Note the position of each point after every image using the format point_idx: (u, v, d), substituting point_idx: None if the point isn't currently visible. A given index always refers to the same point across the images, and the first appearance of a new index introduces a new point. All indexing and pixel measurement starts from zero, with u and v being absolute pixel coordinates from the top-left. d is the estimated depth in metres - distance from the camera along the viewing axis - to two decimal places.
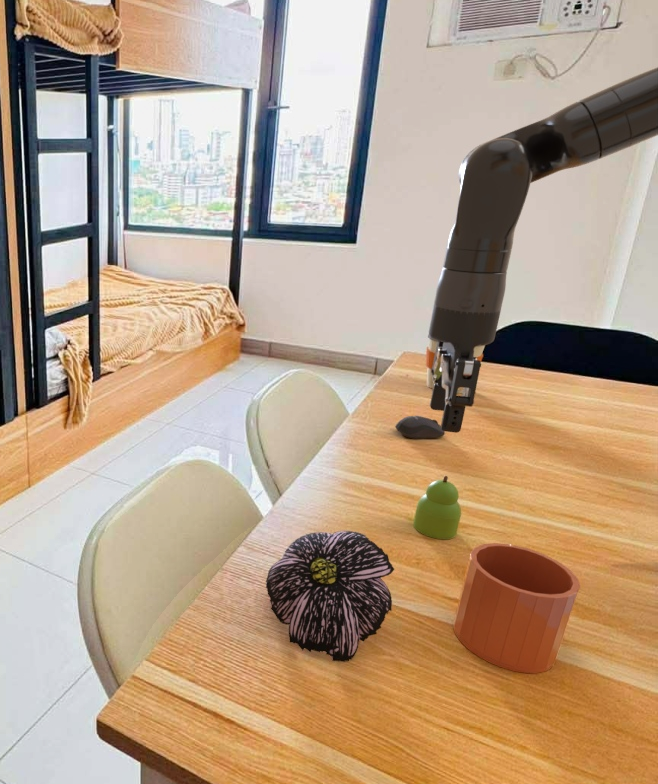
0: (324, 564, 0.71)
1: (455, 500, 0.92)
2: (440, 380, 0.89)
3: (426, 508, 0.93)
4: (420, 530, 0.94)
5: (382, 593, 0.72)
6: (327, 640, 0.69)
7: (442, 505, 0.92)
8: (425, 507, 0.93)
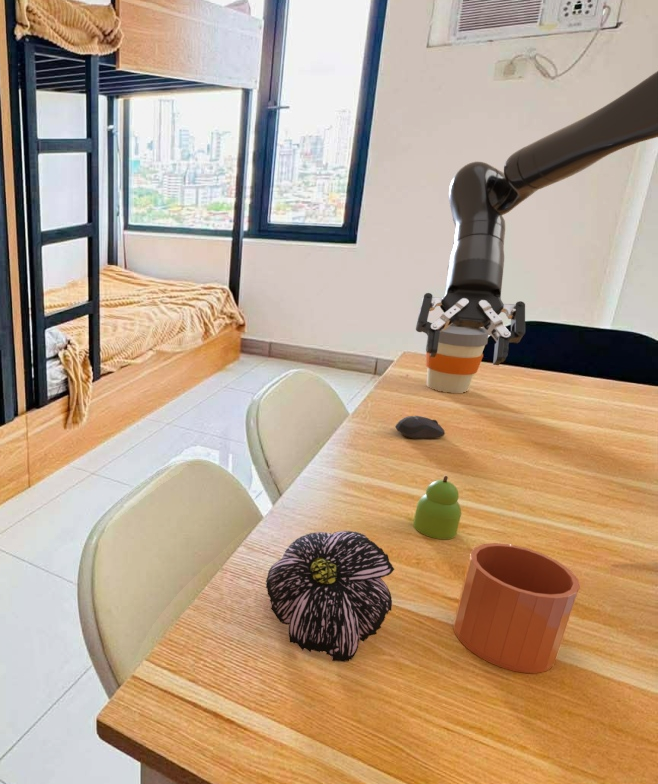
0: (324, 564, 0.71)
1: (455, 500, 0.92)
2: (497, 338, 0.96)
3: (426, 508, 0.93)
4: (420, 530, 0.94)
5: (382, 593, 0.72)
6: (327, 640, 0.69)
7: (442, 505, 0.92)
8: (425, 507, 0.93)
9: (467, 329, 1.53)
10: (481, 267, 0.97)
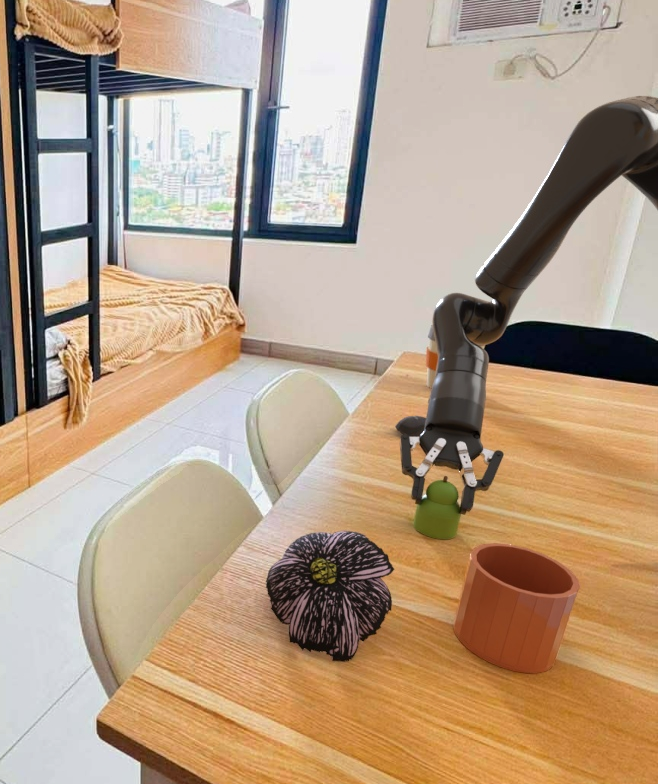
0: (324, 564, 0.71)
1: (455, 500, 0.92)
2: (465, 484, 0.93)
3: (426, 508, 0.93)
4: (420, 530, 0.94)
5: (382, 593, 0.72)
6: (327, 641, 0.69)
7: (442, 505, 0.92)
8: (425, 507, 0.93)
9: None
10: (459, 407, 0.94)
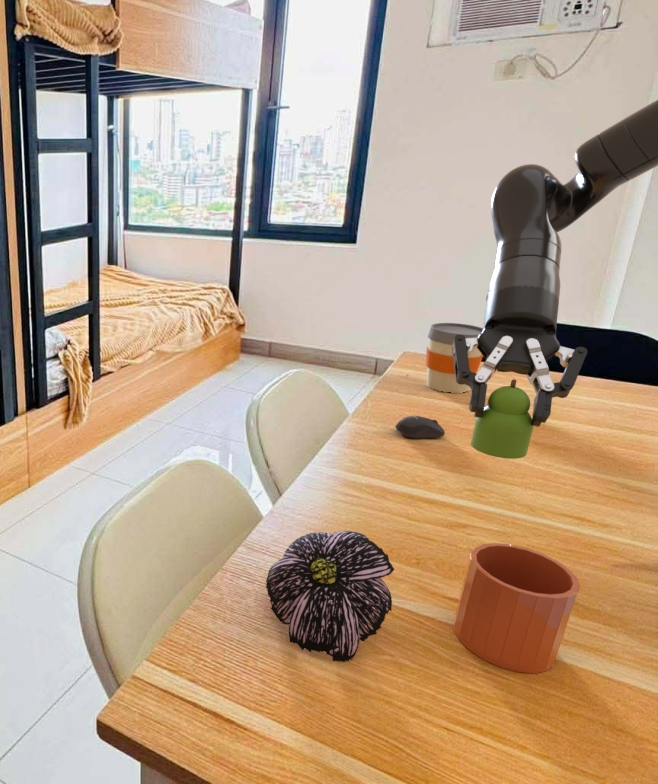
0: (324, 564, 0.71)
1: (526, 408, 0.74)
2: (538, 390, 0.75)
3: (489, 420, 0.75)
4: (481, 449, 0.76)
5: (382, 593, 0.72)
6: (327, 640, 0.69)
7: (510, 415, 0.74)
8: (488, 419, 0.75)
9: (467, 329, 1.53)
10: (529, 297, 0.76)
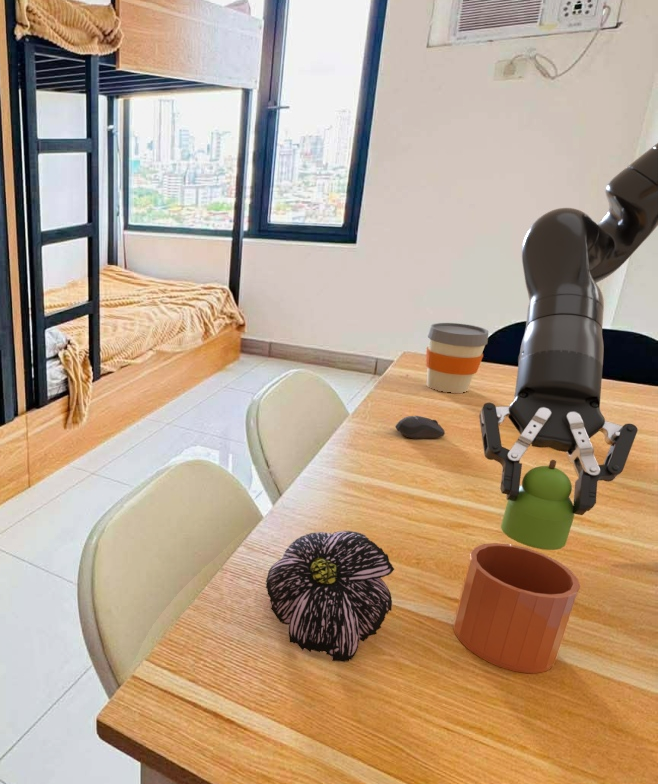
0: (324, 564, 0.71)
1: (568, 494, 0.64)
2: (580, 472, 0.66)
3: (524, 505, 0.66)
4: (514, 537, 0.67)
5: (382, 593, 0.72)
6: (327, 640, 0.69)
7: (549, 501, 0.65)
8: (522, 504, 0.66)
9: (467, 329, 1.53)
10: (570, 364, 0.67)
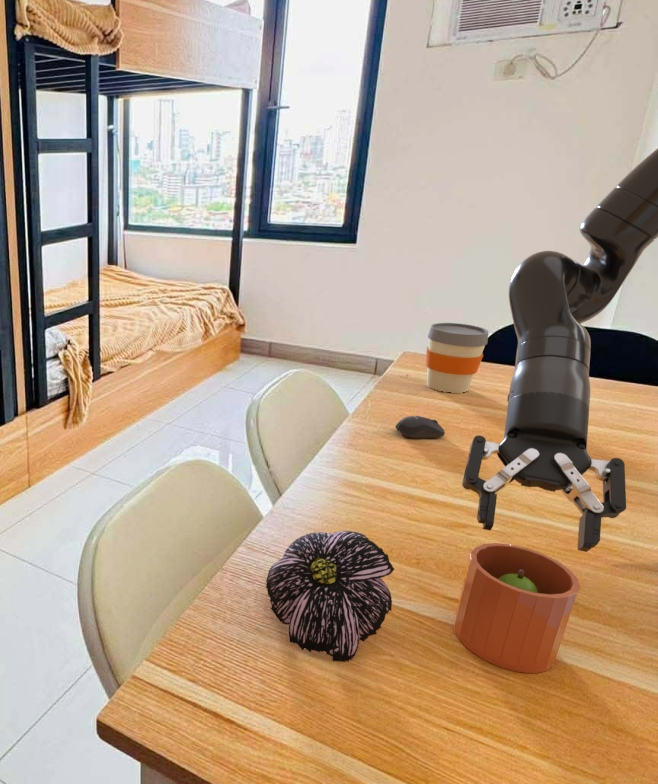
0: (324, 564, 0.71)
1: None
2: (583, 510, 0.67)
3: None
4: None
5: (382, 593, 0.72)
6: (327, 640, 0.69)
7: None
8: None
9: (467, 329, 1.53)
10: (557, 406, 0.69)
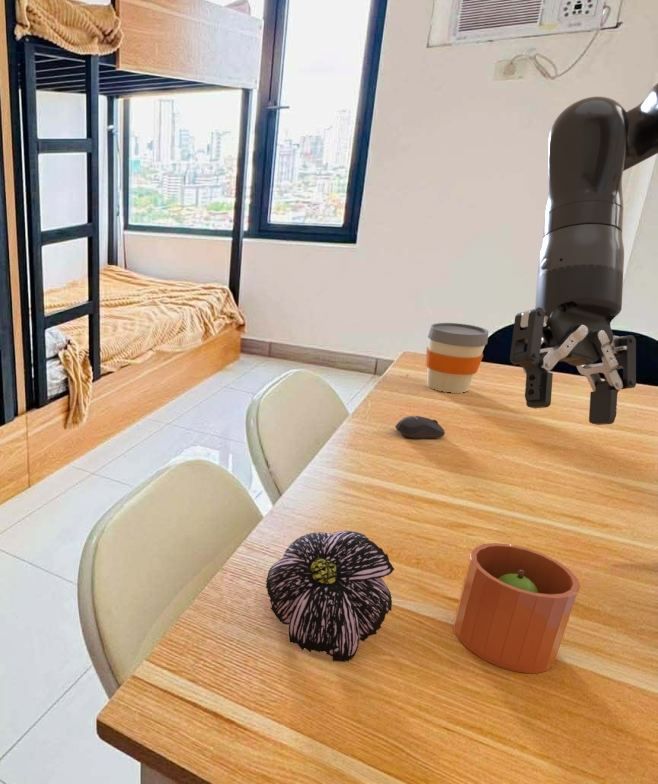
0: (324, 564, 0.71)
1: None
2: (598, 385, 0.70)
3: None
4: None
5: (382, 593, 0.72)
6: (327, 640, 0.69)
7: None
8: None
9: (467, 329, 1.53)
10: (614, 282, 0.66)
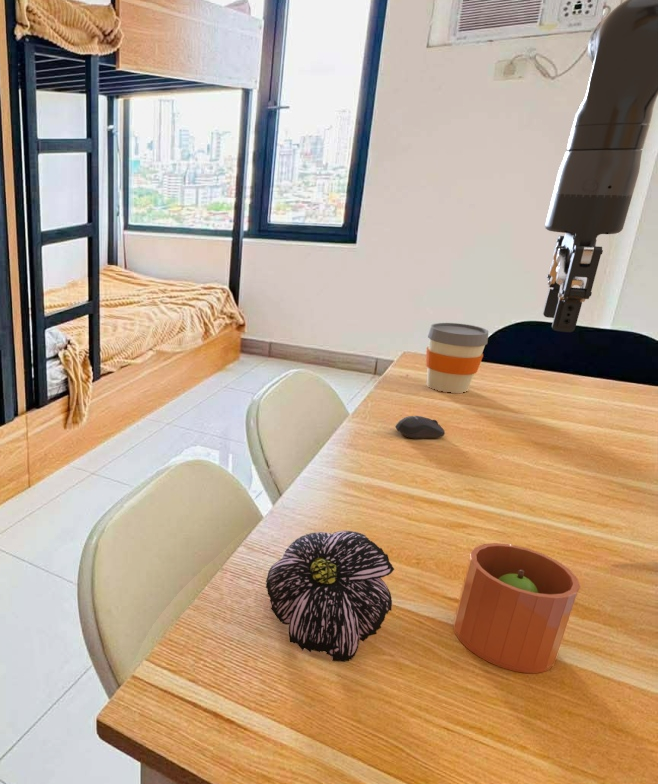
0: (324, 564, 0.71)
1: None
2: (557, 284, 0.82)
3: None
4: None
5: (382, 593, 0.72)
6: (327, 640, 0.69)
7: None
8: None
9: (467, 329, 1.53)
10: None
